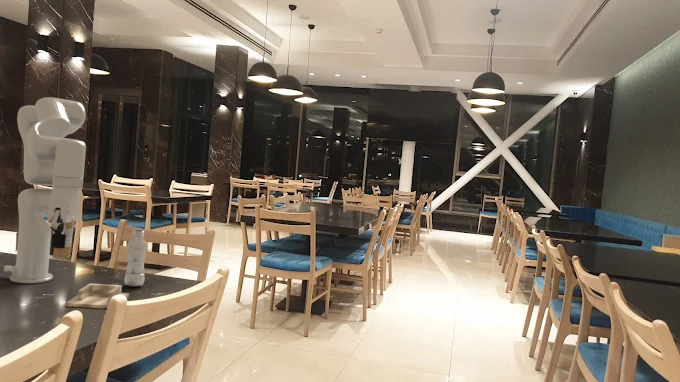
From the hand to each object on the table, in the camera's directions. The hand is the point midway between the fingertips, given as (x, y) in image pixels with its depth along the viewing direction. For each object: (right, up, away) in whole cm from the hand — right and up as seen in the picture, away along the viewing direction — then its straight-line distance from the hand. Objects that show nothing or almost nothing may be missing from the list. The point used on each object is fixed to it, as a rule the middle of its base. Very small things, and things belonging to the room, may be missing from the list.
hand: (62, 245), depth 137 cm
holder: (+4, -19, +13) cm, 23 cm away
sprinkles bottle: (0, -4, 0) cm, 4 cm away
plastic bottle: (+6, -19, +34) cm, 39 cm away
